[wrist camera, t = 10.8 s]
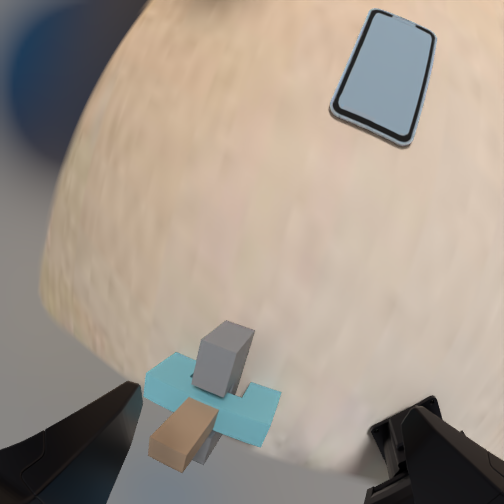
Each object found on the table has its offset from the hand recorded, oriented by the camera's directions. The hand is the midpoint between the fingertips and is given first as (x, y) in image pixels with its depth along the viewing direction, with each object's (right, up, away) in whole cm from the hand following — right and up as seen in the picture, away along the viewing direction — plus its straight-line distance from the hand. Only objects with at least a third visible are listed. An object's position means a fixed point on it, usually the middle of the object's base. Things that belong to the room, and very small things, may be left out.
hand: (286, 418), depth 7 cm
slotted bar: (-4, -7, +15) cm, 17 cm away
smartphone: (+11, +21, +11) cm, 27 cm away
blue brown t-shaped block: (-4, -7, +15) cm, 17 cm away
